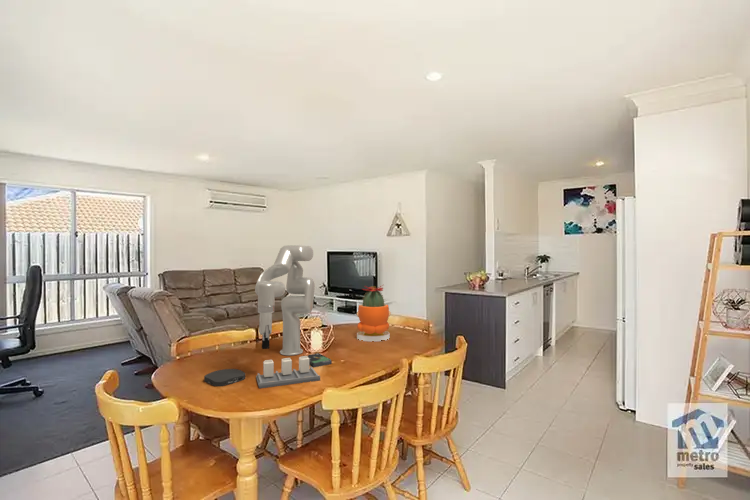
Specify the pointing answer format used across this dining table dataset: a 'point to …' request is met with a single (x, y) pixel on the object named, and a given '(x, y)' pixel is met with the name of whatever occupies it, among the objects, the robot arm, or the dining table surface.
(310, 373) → the grey divided tray
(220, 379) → the media streaming box
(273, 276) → the robot arm
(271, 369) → the tab
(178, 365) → the dining table surface
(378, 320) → the potted cactus
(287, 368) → the tab
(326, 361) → the disk drive
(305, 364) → the tab
